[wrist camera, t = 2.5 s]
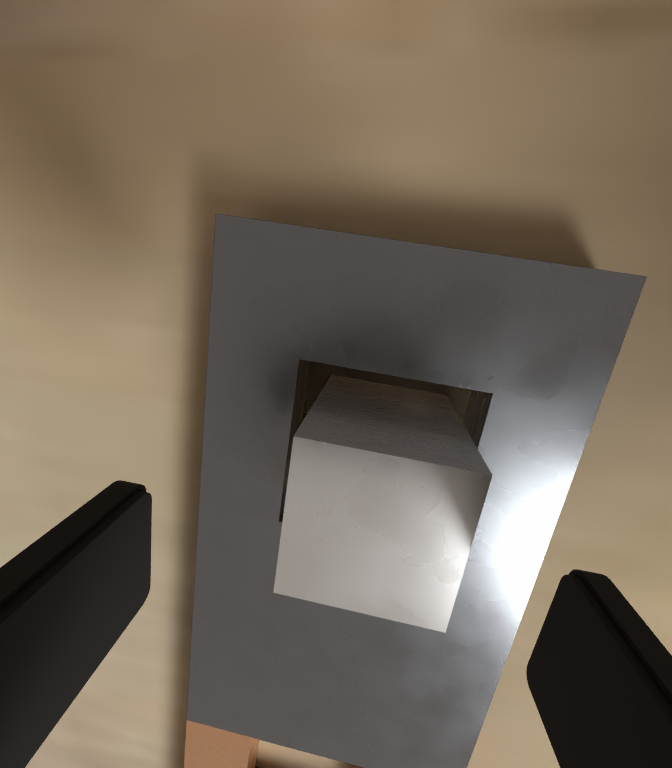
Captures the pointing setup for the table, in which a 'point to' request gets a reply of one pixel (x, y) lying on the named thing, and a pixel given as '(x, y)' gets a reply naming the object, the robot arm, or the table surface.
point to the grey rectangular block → (381, 503)
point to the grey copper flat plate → (272, 462)
